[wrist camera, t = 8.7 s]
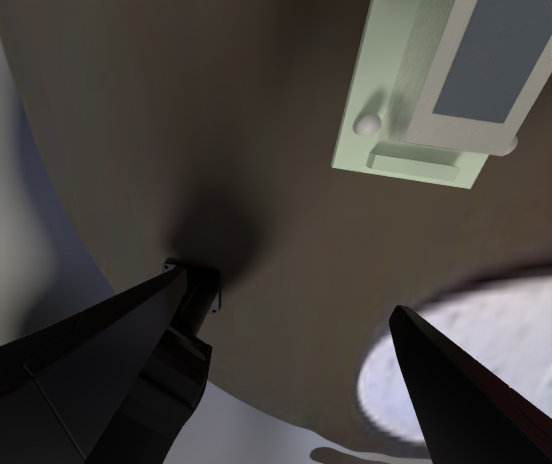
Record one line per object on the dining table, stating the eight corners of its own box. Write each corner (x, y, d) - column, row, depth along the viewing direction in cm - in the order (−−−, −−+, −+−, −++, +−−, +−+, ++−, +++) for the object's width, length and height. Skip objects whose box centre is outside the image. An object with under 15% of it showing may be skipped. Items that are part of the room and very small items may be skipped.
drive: (450, 149, 16) (504, 156, 12) (376, 138, 16) (404, 141, 12) (530, -22, 12) (656, -104, 8) (431, -35, 12) (502, -122, 8)
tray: (461, 185, 18) (496, 197, 15) (330, 165, 18) (337, 173, 15) (594, -67, 12) (706, -141, 8) (393, -93, 12) (427, -174, 9)
